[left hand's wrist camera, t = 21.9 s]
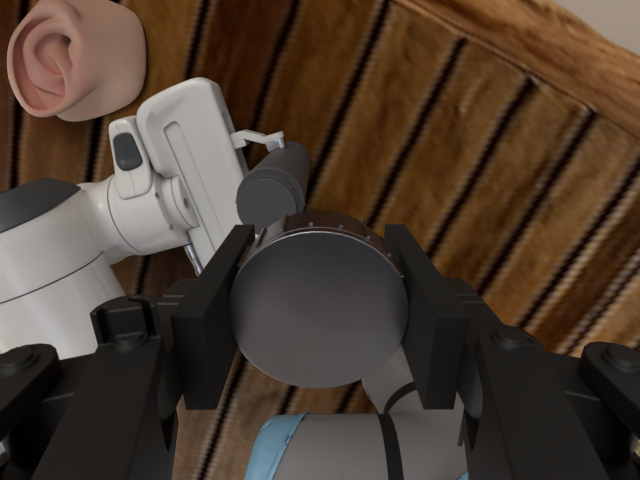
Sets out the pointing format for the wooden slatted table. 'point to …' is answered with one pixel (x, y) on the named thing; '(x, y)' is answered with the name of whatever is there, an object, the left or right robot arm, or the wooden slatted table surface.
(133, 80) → the anatomical model
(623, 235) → the wooden slatted table surface
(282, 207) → the dark grey cylinder
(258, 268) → the lid
